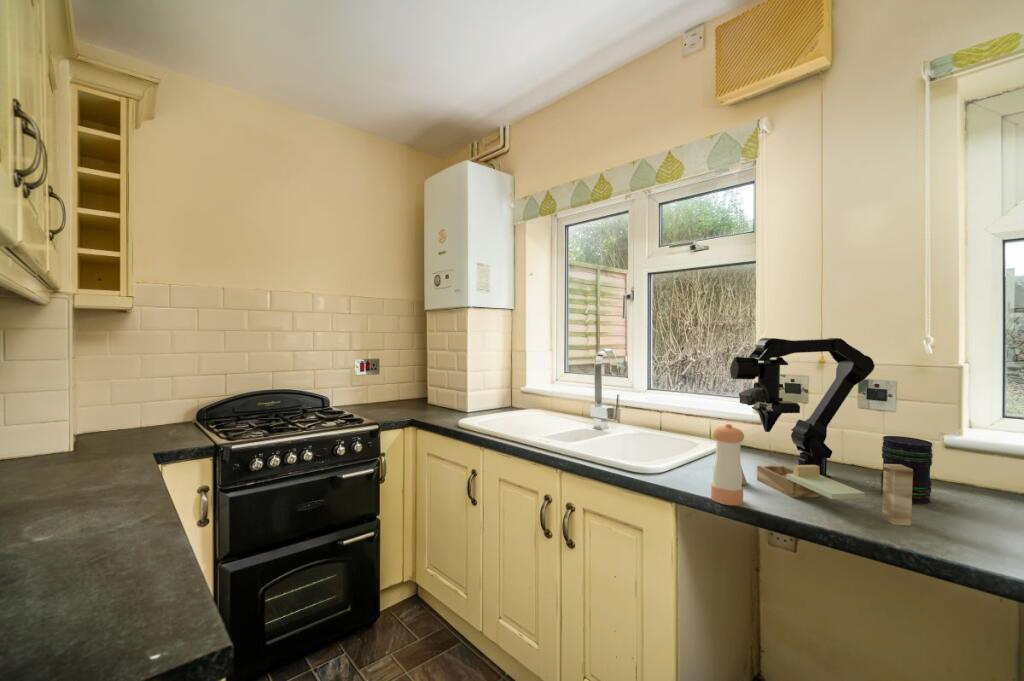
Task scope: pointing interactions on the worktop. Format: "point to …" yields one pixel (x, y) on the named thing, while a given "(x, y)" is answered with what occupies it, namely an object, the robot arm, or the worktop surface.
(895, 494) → the brown box
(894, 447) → the storage jar
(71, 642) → the worktop surface
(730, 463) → the pepper shaker
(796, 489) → the wooden box tray
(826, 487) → the lid
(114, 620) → the worktop surface
